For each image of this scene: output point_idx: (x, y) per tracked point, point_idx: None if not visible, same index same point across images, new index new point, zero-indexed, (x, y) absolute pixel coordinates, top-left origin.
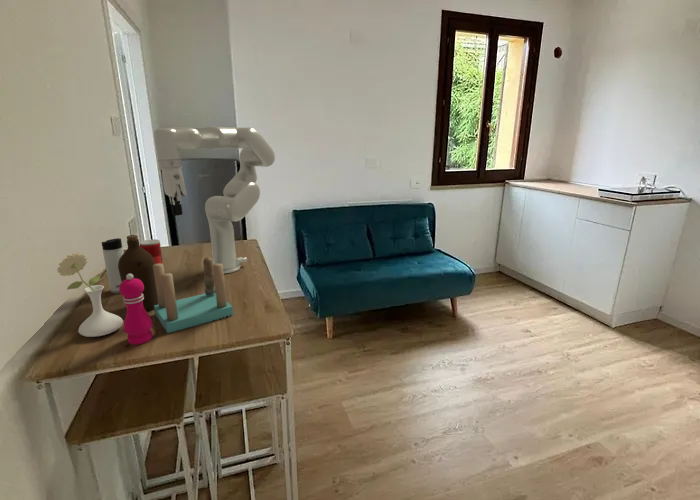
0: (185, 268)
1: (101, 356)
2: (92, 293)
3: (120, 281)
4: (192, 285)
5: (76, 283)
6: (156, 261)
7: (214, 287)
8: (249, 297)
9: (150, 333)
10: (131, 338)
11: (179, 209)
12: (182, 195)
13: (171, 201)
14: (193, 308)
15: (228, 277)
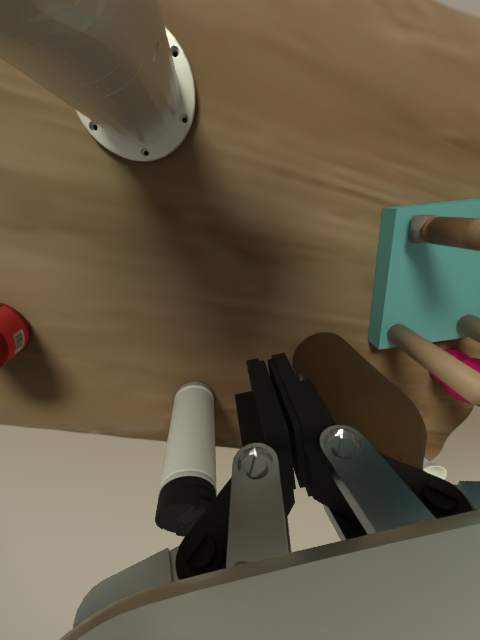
0: (71, 238)
1: (453, 405)
2: (437, 474)
3: (213, 411)
4: (248, 246)
5: None
6: (13, 325)
7: (434, 216)
8: (438, 112)
9: (467, 355)
10: None
11: (321, 402)
12: (451, 530)
13: (287, 534)
14: (454, 281)
15: (237, 116)
